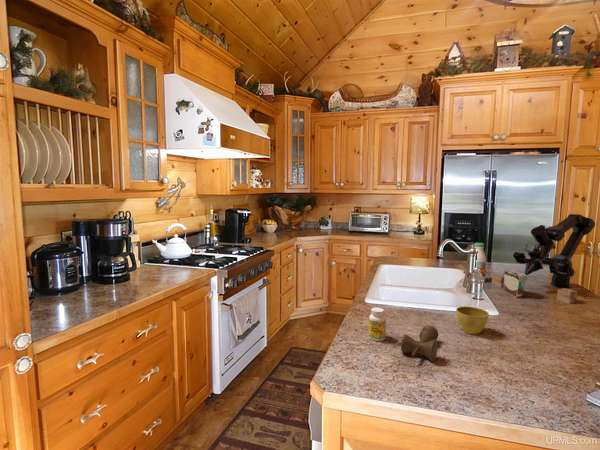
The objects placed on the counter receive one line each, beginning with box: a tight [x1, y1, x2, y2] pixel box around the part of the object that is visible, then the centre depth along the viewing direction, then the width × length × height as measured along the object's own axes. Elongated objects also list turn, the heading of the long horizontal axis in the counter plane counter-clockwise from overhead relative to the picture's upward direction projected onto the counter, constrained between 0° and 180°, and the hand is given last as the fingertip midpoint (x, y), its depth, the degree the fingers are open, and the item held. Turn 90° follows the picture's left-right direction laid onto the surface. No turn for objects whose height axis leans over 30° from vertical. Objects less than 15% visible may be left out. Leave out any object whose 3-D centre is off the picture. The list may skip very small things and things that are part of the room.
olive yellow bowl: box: [455, 306, 490, 335], centre depth 120 cm, size 10×10×7 cm
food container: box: [502, 270, 528, 299], centre depth 161 cm, size 12×6×10 cm, turn 1°
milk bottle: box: [473, 242, 487, 282], centre depth 184 cm, size 8×8×20 cm
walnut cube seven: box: [556, 288, 578, 305], centre depth 152 cm, size 5×5×5 cm
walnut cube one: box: [491, 273, 504, 288], centre depth 176 cm, size 5×5×5 cm
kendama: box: [400, 325, 439, 363], centre depth 106 cm, size 6×10×20 cm
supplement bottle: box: [368, 307, 387, 342], centre depth 114 cm, size 5×5×10 cm
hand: (525, 274), depth 163 cm, fingers closed
